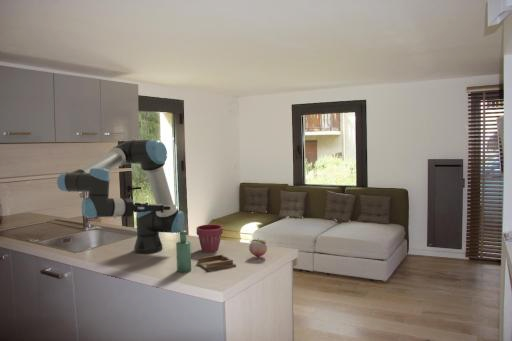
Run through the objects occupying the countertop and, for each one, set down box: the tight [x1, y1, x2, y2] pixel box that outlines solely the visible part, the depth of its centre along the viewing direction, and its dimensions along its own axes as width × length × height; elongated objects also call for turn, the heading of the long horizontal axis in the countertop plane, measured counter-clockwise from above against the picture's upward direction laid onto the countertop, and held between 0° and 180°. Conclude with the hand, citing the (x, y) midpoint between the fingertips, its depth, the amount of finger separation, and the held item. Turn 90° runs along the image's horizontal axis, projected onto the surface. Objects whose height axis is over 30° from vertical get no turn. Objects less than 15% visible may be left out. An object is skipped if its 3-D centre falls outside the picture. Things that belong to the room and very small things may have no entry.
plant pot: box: [196, 223, 224, 253], centre depth 221 cm, size 14×14×13 cm
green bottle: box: [175, 229, 192, 274], centre depth 184 cm, size 6×6×18 cm
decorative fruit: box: [248, 239, 268, 258], centre depth 205 cm, size 9×8×10 cm
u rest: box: [196, 253, 237, 272], centre depth 193 cm, size 14×14×3 cm
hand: (168, 207), depth 181 cm, fingers open, 13 cm apart
